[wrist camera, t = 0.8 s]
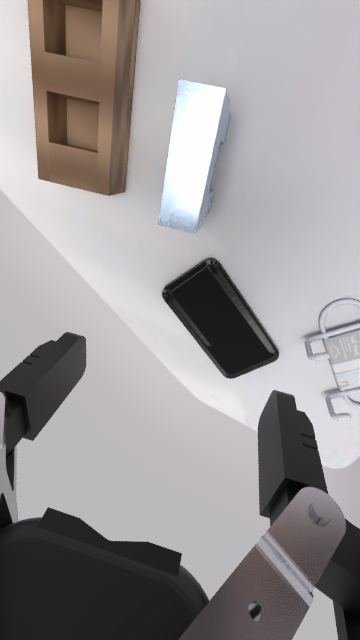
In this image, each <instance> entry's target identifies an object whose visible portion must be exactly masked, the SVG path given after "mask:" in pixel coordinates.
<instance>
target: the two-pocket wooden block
mask: <svg viewBox="0 0 360 640" xmlns="http://www.w3.org/2000/svg"><path fill="white" fill-rule="evenodd" d="M139 10H140V0H28V16H29V32H30V48H31V65H32V81H33V97H34V113H35V129H36V145H37V161H38V177H39V179H41V180H45V181H49V182H54V183H58V184H62V185H66V186H70V187H74V188H79V189H83V190H87V191H91V192H95V193H99V194H104V195H108V196H109V195H114V194H118V193H123V192H125V183H126V171H127V158H128V146H129V133H130V121H131V109H132V96H133V84H134V72H135V59H136V47H137V34H138V22H139Z"/></svg>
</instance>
